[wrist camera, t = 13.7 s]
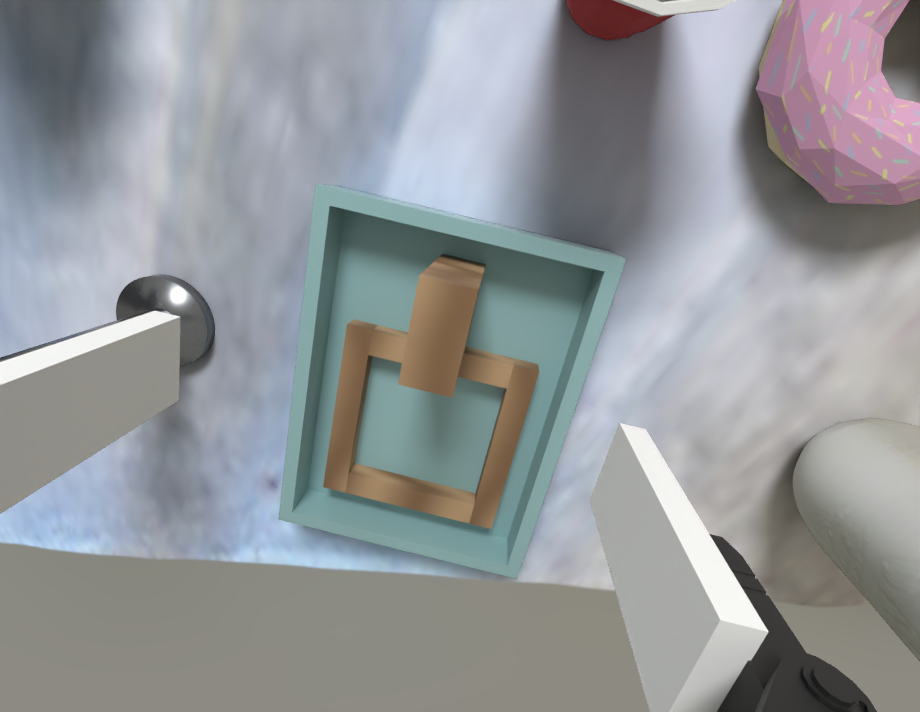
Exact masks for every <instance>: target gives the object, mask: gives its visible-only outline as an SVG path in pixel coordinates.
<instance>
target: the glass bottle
mask: <svg viewBox="0 0 920 712" xmlns="http://www.w3.org/2000/svg"><path fill="white" fill-rule="evenodd" d="M793 493H794V498H795V501H796V505H797V507H798V510H799V513H800V515H801V517H802V519H803V521H804V523H805V524H806V526H807V528H808V529H809V531H810V533H811V534H812V536H813V537H814V538H815V540H816V541H817V542H818V544H819V545H820V546H821V547H822V549H823V550H824V551H825V552H826V554H827V555H828V556H829V557H830V558H831V559H832V561H833V562H834V563H835V564H836V565H837V566H838V567H839V568H840V570H841V571H842V572H843V573H844V574H845V575H846V576H847V578H848V579H849V580H850V581H851V582H852V583H853V584H854V585H855V587H856V588H857V589H858V590H859V591H860V592H861V593H862V594H863V596H864V597H865V598H866V599H867V600H868V601H869V603H870V604H871V605H872V606H873V607H874V608H875V610H876V611H877V612H878V613H879V614H880V616H881V617H882V618H883V619H884V620H885V621H886V623H887V624H888V625H889V626H890V627H891V629H892V630H893V631H894V632H895V633H896V635H897V636H898V637H899V638H900V639H901V640H902V641H903V643H904V644H905V645H906V646H907V647H908V648H909V650H910V651H911V652H912V653H913V654H914V655H915V657H916V658H917V659H918V660H919V661H920V426H916V425H912V424H907V423H903V422H898V421H893V420H887V419H877V418H867V419H859V420H853V421H846V422H840V423H837V424H835V425H833V426H831V427H828V428H826V429H825V430H823V431H821V432H820V433H818V434H817V435H815V436H814V437H813V438H812V439H811V440H810V441H809V442H808V443H807V444H806V446H805V447H804V449H803V451H802V452H801V454H800V456H799V459H798V461H797V464H796V466H795V470H794V474H793Z"/></svg>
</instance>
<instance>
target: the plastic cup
mask: <svg viewBox="0 0 920 712" xmlns="http://www.w3.org/2000/svg"><path fill="white" fill-rule="evenodd" d="M565 1H566V4H567V6H568V9H569V11H570V14H571V16H572V19H573V20H574V21H575V22H576V23H577V24H578V25H579V26H580V27H581V28H582V29H583V30H584V31H585V32H586V33H587V34H590V35H593V36H596V37H599V38H602V39H605V40H613V39H621V38H628V37H630V36H632V35H634V34H636V33H638V32H643V31H645V30H647V29H649V28H651V27H653V26H655V25H657V24H659V23H661V22H663V21H665V20H667V19H668V18H670V17H672V16H674V15H677V14H686V13H695V12H704V11H713V10H718V9H722V8H723V7H725V6H727V5H729V4H731V3H732V2H734V1H736V0H565Z"/></svg>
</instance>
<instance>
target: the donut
mask: <svg viewBox="0 0 920 712" xmlns="http://www.w3.org/2000/svg"><path fill="white" fill-rule="evenodd" d="M908 2H909V0H783V2H782V5H781V7H780V10H779V13H778V16H777V18H776V21H775V24H774V26H773V29H772V32H771V35H770V37H769V40H768V43H767V46H766V48H765V51H764V54H763V57H762V59H761V62H760V65H759V74H760V78H759V81H758V83H757V86H756V91H757V93H758V96H759V98H760V100H761V102H762V105H763V108H764V116H765V125H766V133H767V142H768V147H769V148H770V149H771V150H772V151H773V152H774V153H775V154H776V155H777V156H778V157H779V159H780V160H781V161H782V162H784V163H785V164H786V165H787V166H788V167H790V168H791V169H792V170H793V171H795V172H796V173H797V174H798V175H799V176H801V177H802V178H803V179H804V180H805V181H807V182H808V183H809V184H810V185H812V186H813V187H814V188H815V189H816V190H817V191H818V192H819V193H820V194H821V195H822V196H823V198H824V199H825V200H826V201H827V202H828V203H844V204H883V205H902V204H906V203H909V202H912V201H916V200H919V199H920V103H917V102H913V101H908V100H903V99H899V98H896V97H895V95H894V94H893V92H892V90H891V88H890V86H889V84H888V83H887V81H886V79H885V77H884V75H883V73H882V72H881V67H882V58H883V49H884V40H885V37H886V36H887V34H888V33H889V31H890V30H891V28H892V27H893V25H894V23H895V22H896V20H897V19H898V17H899V16H900V14H901V13H902V11H903V10H904V8H905V6H906V5H907V3H908Z"/></svg>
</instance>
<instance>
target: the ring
mask: <svg viewBox="0 0 920 712" xmlns="http://www.w3.org/2000/svg"><path fill="white" fill-rule="evenodd" d="M485 265H486V264H483V263H479V262H474V261H470V260H466V259H462V258H458V257H454V256H450V255H445V254H442V255H441V256H440V257H438V258H437V259H436V260H435V261H434V262H433V263H432V264H431V265H430V266H429V267H428V268H427V269H425V270H424V271H423V272H422V273H421V274H420V275H419V279H418V284H417V289H416V294H415V300H414V305H413V310H412V315H411V320H410V325H409V330H408V332H404V331H400V330H396V329H392V328H388V327H384V326H379V325H375V324H371V323H367V322H363V321H359V320H355V319H353V320H352V321H351V322H349V323H348V324H347V327H346V334H345V341H344V348H343V354H342V361H341V368H340V375H339V382H338V388H337V395H336V402H335V409H334V416H333V423H332V429H331V436H330V443H329V450H328V457H327V463H326V470H325V477H324V484H323V487H324V488H329V489H333V490H337V491H341V492H345V493H349V494H353V495H357V496H361V497H365V498H369V499H373V500H377V501H381V502H385V503H389V504H393V505H397V506H401V507H405V508H409V509H413V510H417V511H421V512H425V513H429V514H433V515H437V516H441V517H445V518H449V519H453V520H457V521H461V522H465V523H469V524H473V525H477V526H481V527H485V528H489V529H492V525H493V522H494V519H495V515H496V512H497V509H498V506H499V502H500V499H501V496H502V492H503V489H504V486H505V483H506V479H507V476H508V473H509V470H510V466H511V463H512V460H513V456H514V453H515V450H516V447H517V443H518V440H519V437H520V434H521V430H522V427H523V424H524V420H525V417H526V414H527V411H528V407H529V404H530V401H531V397H532V394H533V391H534V388H535V384H536V381H537V378H538V375H539V367H538V364H535V363H531V362H527V361H523V360H519V359H515V358H511V357H507V356H502V355H498V354H494V353H490V352H486V351H482V350H478V349H474V348H470V347H466V344H467V340H468V336H469V332H470V327H471V323H472V319H473V315H474V311H475V307H476V303H477V298H478V294H479V290H480V286H481V282H482V278H483V274H484V270H485ZM372 356H375V357H379V358H383V359H387V360H391V361H395V362H400V363H402V366H401V371H400V377H399V382H398V385H402V386H406V387H410V388H414V389H418V390H423V391H427V392H431V393H435V394H439V395H443V396H447V397H451V398H453V394H454V390H455V386H456V382H457V378H458V377H461V378H465V379H469V380H473V381H477V382H481V383H485V384H489V385H494V386H498V387H502V388H505V390H504V393H503V397H502V401H501V404H500V408H499V411H498V415H497V418H496V422H495V425H494V429H493V433H492V436H491V440H490V443H489V447H488V450H487V454H486V457H485V461H484V464H483V468H482V472H481V475H480V479H479V482H478V486H477V489H476V493H473V492H469V491H465V490H461V489H457V488H453V487H449V486H445V485H441V484H437V483H433V482H428V481H424V480H420V479H416V478H412V477H408V476H404V475H400V474H396V473H392V472H388V471H384V470H380V469H376V468H372V467H368V466H364V465H360V464H356V463H354V462H355V456H356V450H357V444H358V439H359V433H360V427H361V421H362V415H363V409H364V403H365V397H366V392H367V386H368V380H369V374H370V368H371V362H372Z"/></svg>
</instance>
